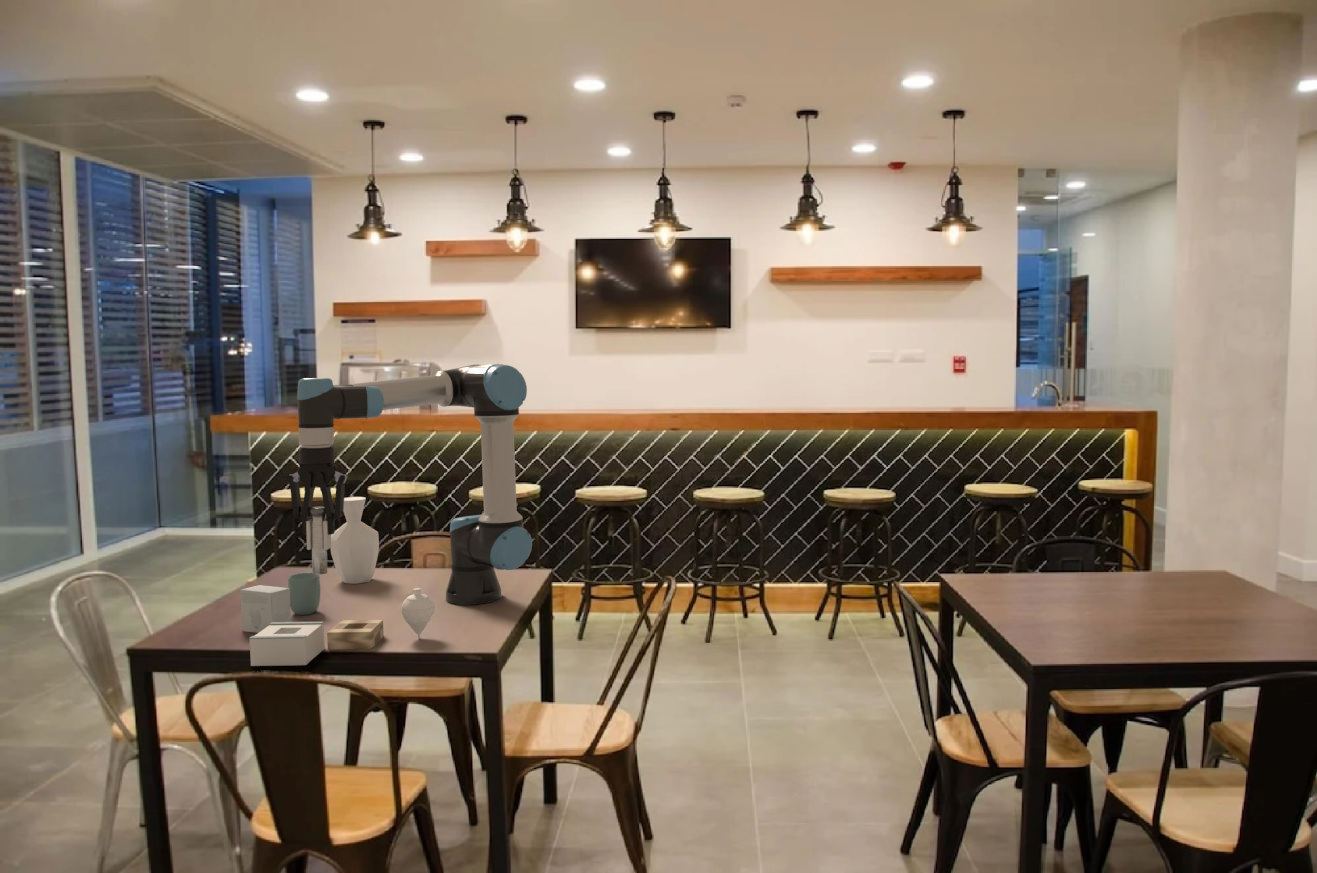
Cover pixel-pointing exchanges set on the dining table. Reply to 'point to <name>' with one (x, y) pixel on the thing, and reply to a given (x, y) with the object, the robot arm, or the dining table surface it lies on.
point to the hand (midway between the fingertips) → (319, 548)
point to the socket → (287, 643)
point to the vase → (355, 545)
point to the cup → (304, 593)
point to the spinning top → (417, 610)
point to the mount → (355, 634)
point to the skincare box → (264, 607)
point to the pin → (318, 540)
